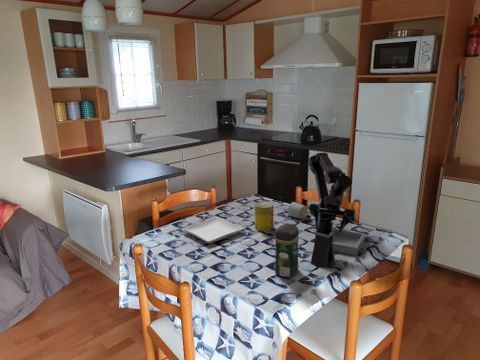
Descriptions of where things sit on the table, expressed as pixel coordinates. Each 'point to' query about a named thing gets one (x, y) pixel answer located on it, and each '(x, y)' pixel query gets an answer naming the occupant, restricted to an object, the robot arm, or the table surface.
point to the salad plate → (213, 229)
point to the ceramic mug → (297, 210)
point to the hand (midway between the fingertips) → (327, 230)
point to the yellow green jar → (264, 216)
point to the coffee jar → (286, 250)
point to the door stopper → (323, 250)
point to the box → (347, 241)
